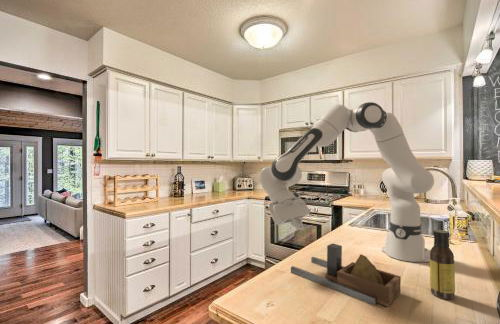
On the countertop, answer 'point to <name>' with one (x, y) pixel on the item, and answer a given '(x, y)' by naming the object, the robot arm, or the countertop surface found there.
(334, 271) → the sled
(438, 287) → the sauce bottle
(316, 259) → the rails
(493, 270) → the countertop surface
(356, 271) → the rock
